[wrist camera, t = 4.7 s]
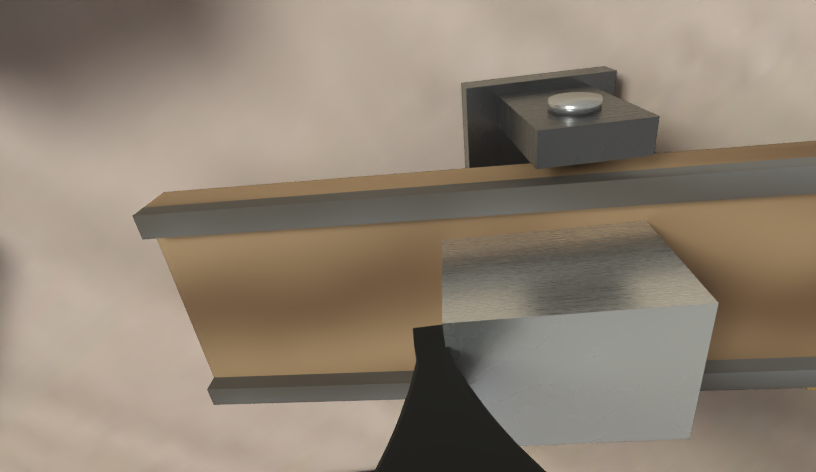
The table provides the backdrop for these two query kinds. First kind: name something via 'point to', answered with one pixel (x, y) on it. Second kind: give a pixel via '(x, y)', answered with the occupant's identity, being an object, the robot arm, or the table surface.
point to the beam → (472, 217)
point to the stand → (553, 120)
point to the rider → (578, 332)
